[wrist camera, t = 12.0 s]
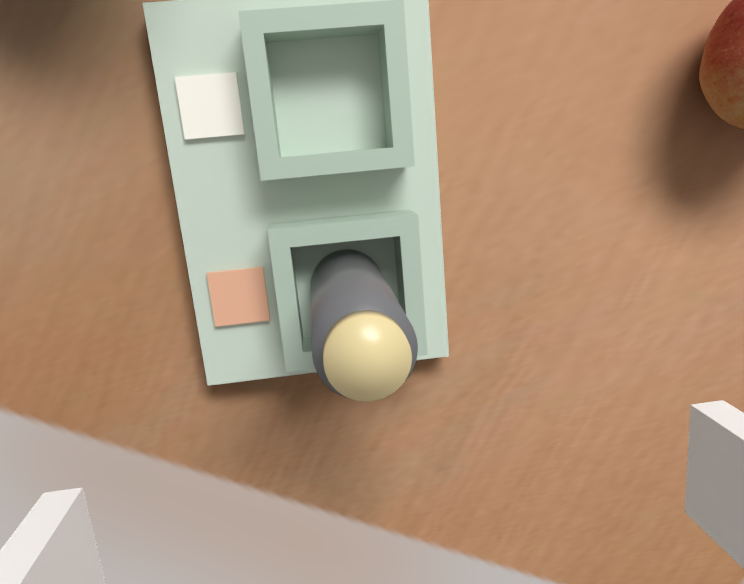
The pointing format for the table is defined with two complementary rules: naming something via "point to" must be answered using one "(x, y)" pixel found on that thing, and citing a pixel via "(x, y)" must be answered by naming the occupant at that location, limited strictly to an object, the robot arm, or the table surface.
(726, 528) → the robot arm
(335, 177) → the socket block
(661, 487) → the table surface
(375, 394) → the plug
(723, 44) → the apple
